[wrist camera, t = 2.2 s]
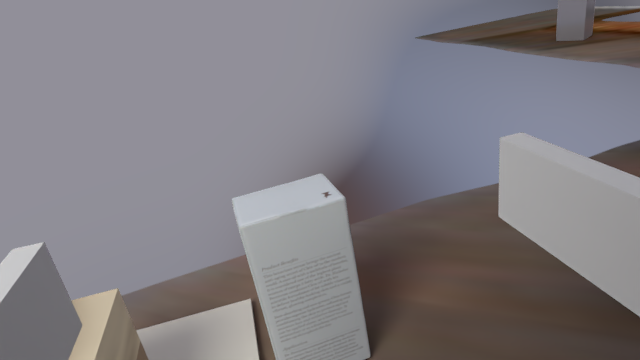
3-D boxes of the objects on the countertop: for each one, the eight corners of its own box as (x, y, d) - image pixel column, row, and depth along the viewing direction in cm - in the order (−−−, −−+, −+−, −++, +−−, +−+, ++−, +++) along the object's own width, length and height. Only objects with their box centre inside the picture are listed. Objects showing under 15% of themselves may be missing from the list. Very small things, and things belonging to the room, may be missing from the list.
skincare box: (349, 318, 32) (324, 170, 27) (372, 359, 28) (348, 196, 23) (270, 345, 31) (229, 196, 26) (282, 393, 27) (238, 227, 22)
